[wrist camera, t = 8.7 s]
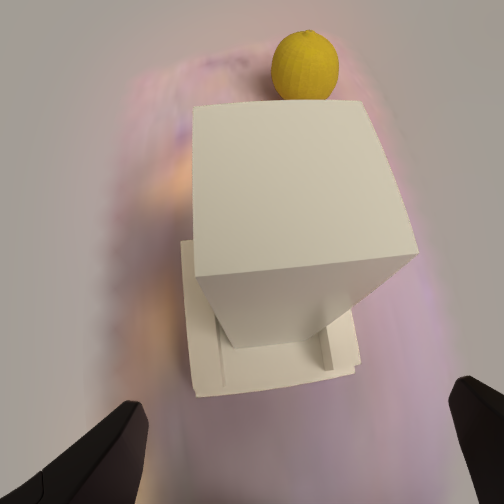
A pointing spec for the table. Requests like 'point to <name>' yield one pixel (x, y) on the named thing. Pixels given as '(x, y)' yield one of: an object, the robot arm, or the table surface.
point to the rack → (258, 349)
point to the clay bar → (292, 215)
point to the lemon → (305, 67)
